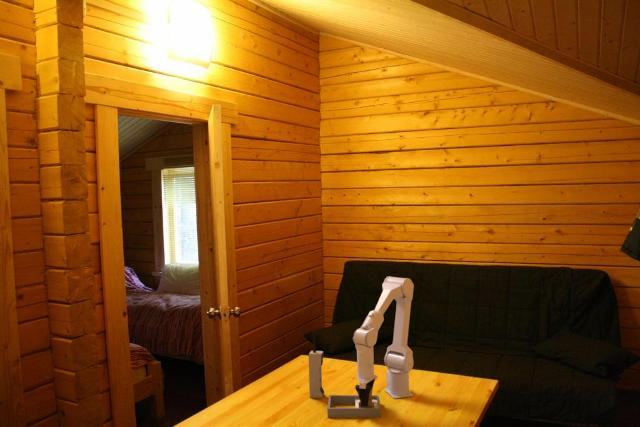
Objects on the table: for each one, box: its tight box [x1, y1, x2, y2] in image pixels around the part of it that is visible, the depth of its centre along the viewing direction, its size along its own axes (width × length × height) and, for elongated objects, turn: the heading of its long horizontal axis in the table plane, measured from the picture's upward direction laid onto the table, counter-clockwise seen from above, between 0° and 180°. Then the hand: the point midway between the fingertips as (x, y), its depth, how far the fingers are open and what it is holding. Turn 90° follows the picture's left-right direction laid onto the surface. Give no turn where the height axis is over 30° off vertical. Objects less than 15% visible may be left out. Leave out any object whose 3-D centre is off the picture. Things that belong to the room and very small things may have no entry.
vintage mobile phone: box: [308, 330, 325, 399], centre depth 195 cm, size 4×5×25 cm
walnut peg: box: [360, 386, 373, 408], centre depth 181 cm, size 4×4×8 cm
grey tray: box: [326, 394, 382, 419], centre depth 182 cm, size 18×12×3 cm, turn 86°
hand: (366, 401), depth 181 cm, fingers open, 7 cm apart
